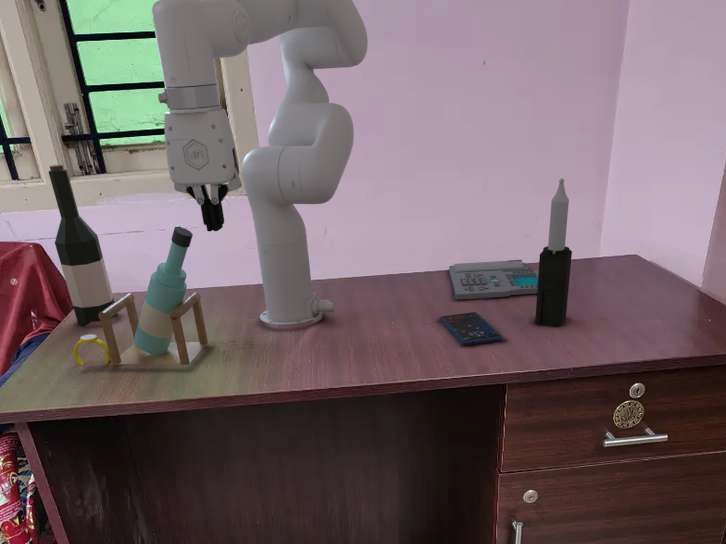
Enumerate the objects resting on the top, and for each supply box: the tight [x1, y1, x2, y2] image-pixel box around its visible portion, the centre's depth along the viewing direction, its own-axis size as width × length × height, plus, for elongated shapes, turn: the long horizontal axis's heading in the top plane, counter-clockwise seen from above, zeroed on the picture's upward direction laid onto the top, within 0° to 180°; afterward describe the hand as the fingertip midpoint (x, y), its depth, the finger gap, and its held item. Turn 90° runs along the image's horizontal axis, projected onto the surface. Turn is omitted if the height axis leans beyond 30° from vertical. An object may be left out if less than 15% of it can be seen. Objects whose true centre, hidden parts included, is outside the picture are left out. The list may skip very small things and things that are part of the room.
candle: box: [534, 178, 573, 327], centre depth 128 cm, size 5×5×25 cm
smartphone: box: [439, 311, 503, 346], centre depth 133 cm, size 8×1×15 cm
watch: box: [73, 333, 111, 366], centre depth 126 cm, size 6×3×6 cm, turn 93°
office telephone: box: [448, 259, 539, 300], centre depth 157 cm, size 23×3×20 cm
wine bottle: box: [48, 164, 119, 327], centre depth 143 cm, size 8×8×30 cm
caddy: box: [98, 292, 210, 366], centre depth 127 cm, size 15×11×10 cm
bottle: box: [133, 226, 194, 355], centre depth 123 cm, size 14×6×22 cm, turn 82°
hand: (215, 229), depth 116 cm, fingers closed
